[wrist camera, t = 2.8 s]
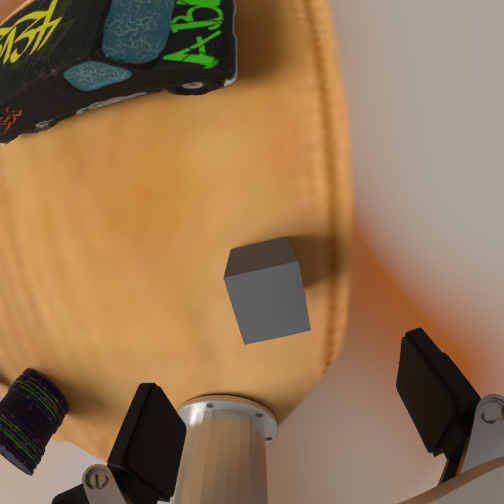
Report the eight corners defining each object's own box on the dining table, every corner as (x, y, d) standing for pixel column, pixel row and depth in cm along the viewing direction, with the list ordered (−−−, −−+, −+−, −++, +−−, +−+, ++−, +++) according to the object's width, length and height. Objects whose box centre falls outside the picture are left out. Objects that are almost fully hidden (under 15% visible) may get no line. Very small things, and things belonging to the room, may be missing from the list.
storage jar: (30, 359, 27) (-22, 421, 12) (77, 405, 29) (38, 476, 14) (19, 379, 28) (-22, 431, 14) (59, 418, 31) (26, 476, 16)
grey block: (297, 292, 23) (310, 330, 17) (246, 303, 23) (244, 344, 17) (286, 236, 22) (298, 260, 16) (230, 249, 22) (223, 277, 16)
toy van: (240, 94, 18) (231, 36, 9) (14, 148, 19) (-53, 153, 9) (237, -4, 15) (230, -77, 6) (23, 64, 15) (-35, 49, 6)
